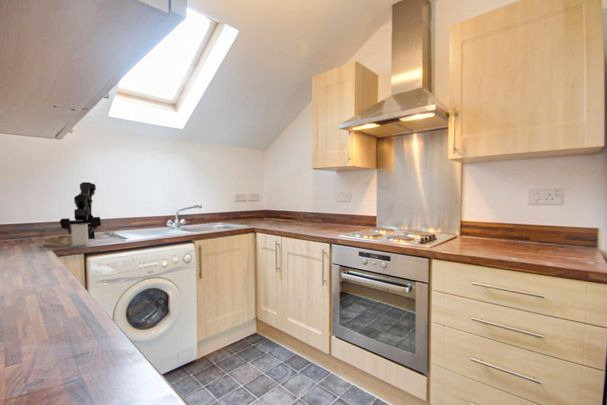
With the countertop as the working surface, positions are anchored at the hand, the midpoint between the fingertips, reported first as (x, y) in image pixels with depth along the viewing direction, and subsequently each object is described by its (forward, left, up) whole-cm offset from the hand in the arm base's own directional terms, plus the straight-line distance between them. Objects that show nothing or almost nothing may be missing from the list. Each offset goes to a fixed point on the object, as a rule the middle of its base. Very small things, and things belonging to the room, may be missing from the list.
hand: (80, 233), depth 166 cm
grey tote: (0, -1, -7) cm, 7 cm away
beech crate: (+8, -14, -7) cm, 17 cm away
